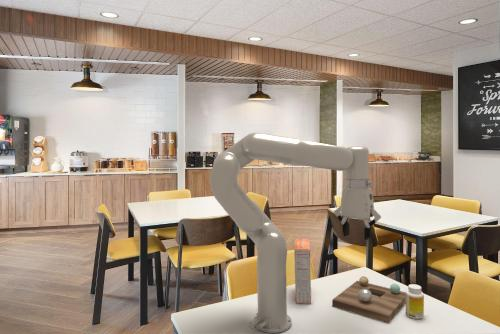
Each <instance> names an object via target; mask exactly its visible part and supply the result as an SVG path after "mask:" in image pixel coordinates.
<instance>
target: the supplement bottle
mask: <svg viewBox="0 0 500 334" xmlns="http://www.w3.org/2000/svg"><path fill="white" fill-rule="evenodd" d="M405 292H406V303H405V315H406V316H407V317H409V318H410V319H415V320H421V319H423V318H424V315H425V314H424V312H425V310H424V309H425V308H424V307H425V306H424V305H425V304H424V302H425V296H424V295H425V294H424V293H423V291H422V286H421V285H418V284H413V283H411V284H408V289H407V290H406V291H405Z"/></svg>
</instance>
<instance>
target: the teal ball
mask: <svg viewBox="0 0 500 334" xmlns="http://www.w3.org/2000/svg"><path fill="white" fill-rule="evenodd" d="M389 288H390V290H391V291H392V292H393V293H399V292H400V291H401V286H400V285H399V284H398V283H392V284H390V287H389Z"/></svg>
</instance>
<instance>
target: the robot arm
mask: <svg viewBox="0 0 500 334" xmlns="http://www.w3.org/2000/svg"><path fill="white" fill-rule="evenodd" d="M255 160H257V161H263V162H264V161H265V162H272V163H278V164H284V165H290V166H297V167H298V166H299V167H300V166H301V167H312V168H319V169H325V170H331V171H337V172H344V187H343V188H342V192H341V199H340V205H339V207H338V208H336V209H335V210H334V211H333V213H334V215H335V216H336V217H337V218H338V220H339V221H340V224H341V225H342V234H343V237H348V236H349V235H350V223H349V220H350V219H358V220H363V223H364V225H365V227H364V229H363V230H364V235H363V237H364V240H366V241H367V240H369V239H370V238H371V237H372V227H373V226H374V225H375V224H377V222H379V220H380V219H381V218H382V216H381V215H380V213H378V212H377V210H376V209H375V205H374V203H375V201H374V196H373V190H372V188H371V187H370V186H373V185H374V181H371V180H370V176H369V172H370V171H369V170H370V169H369V166H370V165H369V164H370V163H369V162H370V161H369V160H370V151H369V148H368V147H366V146H348V147H345V146H339V145H333V144H327V143H320V142H314V141H309V140H304V139H299V138H294V137H288V136H287V137H286V136H281V135H275V134H269V133H261V132H251V133H248V134H247V135H245V136H244V137H243V138H241V139H240V140H238V141H236V143H234V144H233V145H231V146H229V147H228V148H226V149H225V150H223V151H222V152H221V153H219V154H218V155H216V157H215V158H214V161H213V165H212V168H211V170H210V175H209V185H210V186H209V187H210V190H211V192H212V195H213V197H214V199H215V200H216V201H217V202H218V204H219V205H220V206H221V208H222V209H223V210H224V211H225V212H226V213H227V215H228V216H229V217H230V218H231V220H233V222H234V223H235V225H236V227H238V229H239V230H240V231H242V232H243V233H245V234H246V236H248V238H250V240H251V241H252V242H253V243H254V244H255V247H256V252H257V253H256V254H257V257H256V283H257V285H256V286H257V287H256V288H257V289H256V290H257V291H256V292H257V313H256V315H255V316H254V318H253V319H252V320H251V321H250V322H249V323H248V325H249V327H250V328H251V329H254V328H256V329H257V330H258V331H261V332H262V333H263V332H264V333H267V334H278V333H282V332H285V331H287V330H289V329H290V328H291V327H292V324H293V323H292V322H293V321H292V318H291V317H290V316H289V315H288V310H287V308H288V306H287V257H288V243H287V239H286V238H285V236H284V234H283V233H282V232H281V230H280V229H278V227H277V225H276V224H274V223H273V221H272V220H271V219H270V217H268V215H267V214H266V213H265V212H264V211H263V209H262V208H261V207H260V206H259V205H258V204H257V203H256V202H255V201H253V200H252V199H251V198H250V197H249V196H248V195H247V194H246V192H245V191H244V189H243V188H242V187H241V186H240V184H239V182H238V175H239V174H240V171H241V170H243V169H244V168H245V167H247V166H248V165H250V164H251V163H253V161H255ZM373 217H374V218H373ZM371 218H373V219H371Z"/></svg>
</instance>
